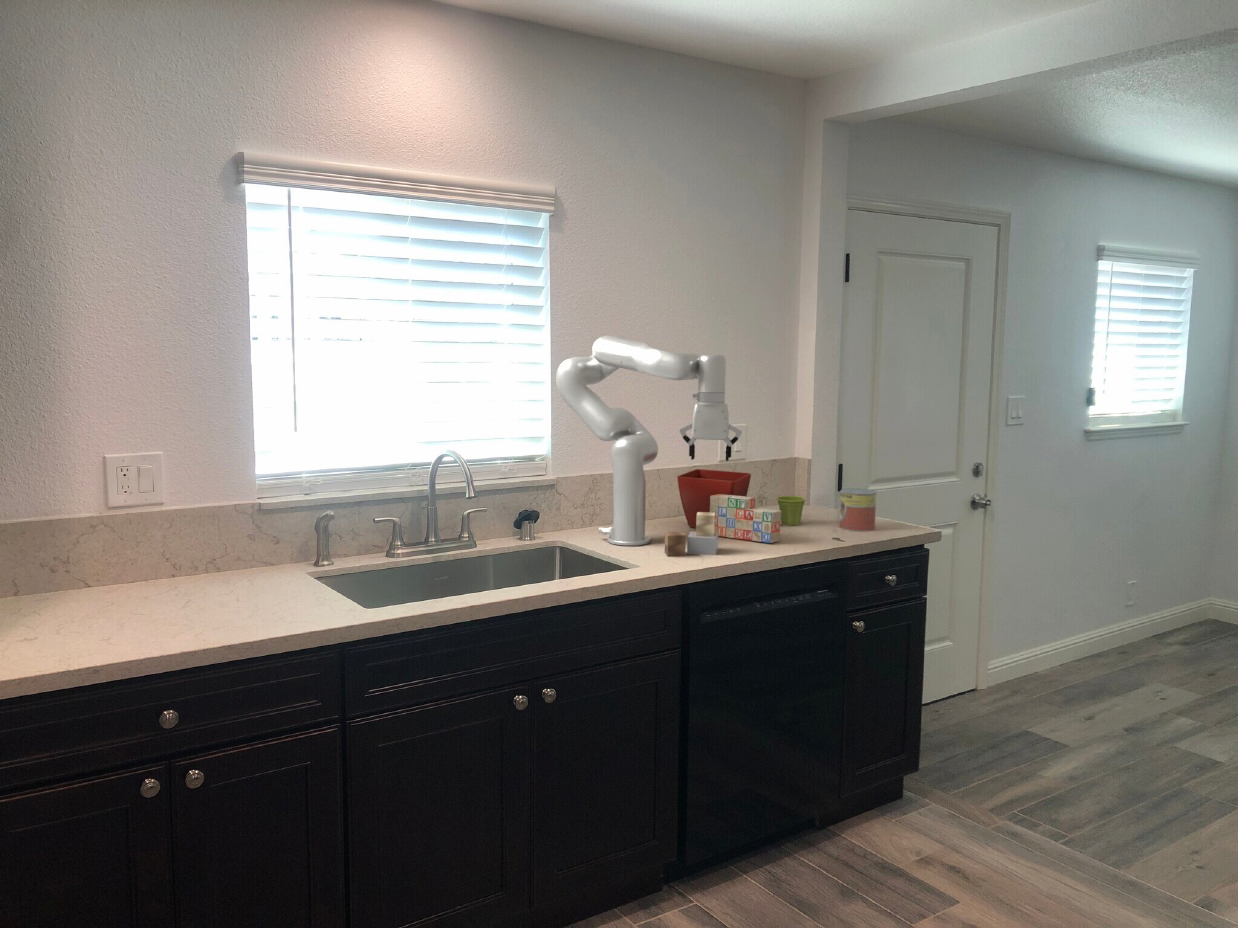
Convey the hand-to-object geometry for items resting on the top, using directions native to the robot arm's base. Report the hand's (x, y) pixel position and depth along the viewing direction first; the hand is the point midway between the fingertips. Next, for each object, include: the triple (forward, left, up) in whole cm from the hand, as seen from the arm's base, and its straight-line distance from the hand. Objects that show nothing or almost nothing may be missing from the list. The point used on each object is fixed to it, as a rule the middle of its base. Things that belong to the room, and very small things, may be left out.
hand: (709, 459), depth 264 cm
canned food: (+45, +43, -26) cm, 68 cm away
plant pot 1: (-1, +37, -26) cm, 45 cm away
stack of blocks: (+10, +20, -26) cm, 34 cm away
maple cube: (-1, 0, -21) cm, 22 cm away
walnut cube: (-9, -6, -26) cm, 28 cm away
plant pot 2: (+24, +45, -26) cm, 57 cm away
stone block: (-1, -1, -27) cm, 27 cm away
